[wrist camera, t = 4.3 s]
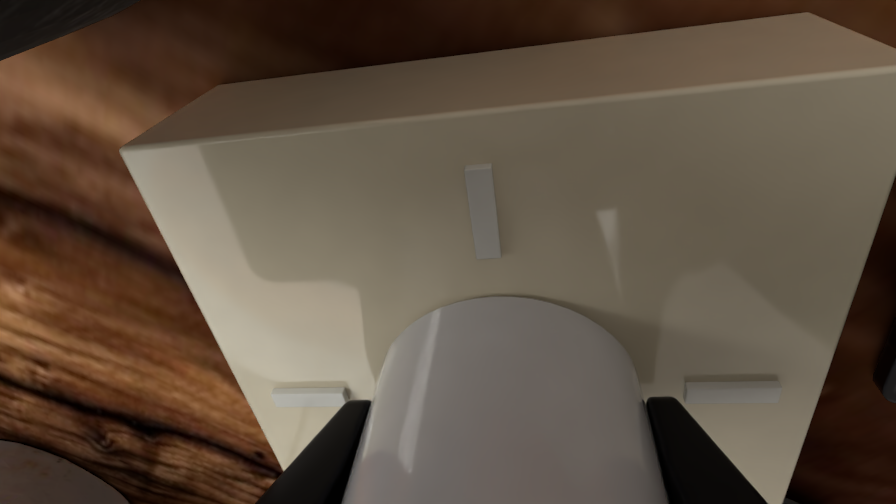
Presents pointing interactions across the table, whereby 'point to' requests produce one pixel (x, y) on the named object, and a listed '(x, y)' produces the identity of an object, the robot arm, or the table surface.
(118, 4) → the travel mug
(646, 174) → the plate
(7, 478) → the bowl
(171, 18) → the table surface
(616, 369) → the tap knob
